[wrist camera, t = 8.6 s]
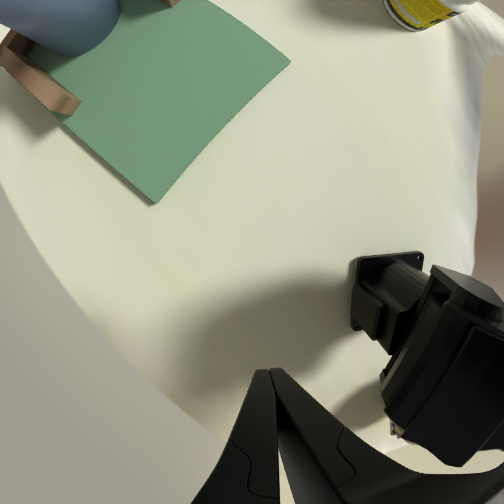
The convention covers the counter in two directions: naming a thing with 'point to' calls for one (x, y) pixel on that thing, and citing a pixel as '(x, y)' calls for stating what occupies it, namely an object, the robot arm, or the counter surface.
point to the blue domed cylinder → (62, 22)
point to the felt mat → (162, 86)
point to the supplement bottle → (424, 11)
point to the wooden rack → (39, 72)
